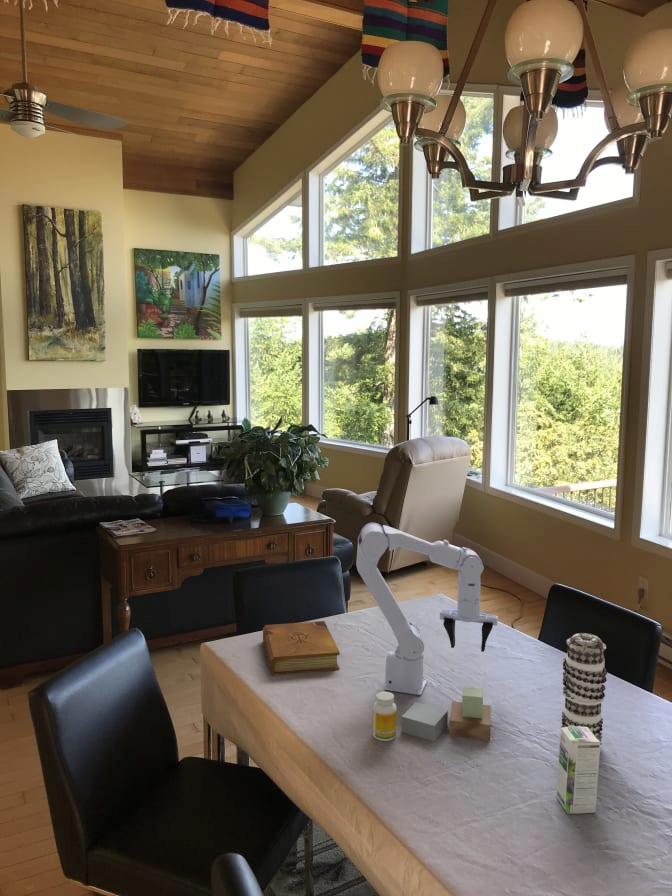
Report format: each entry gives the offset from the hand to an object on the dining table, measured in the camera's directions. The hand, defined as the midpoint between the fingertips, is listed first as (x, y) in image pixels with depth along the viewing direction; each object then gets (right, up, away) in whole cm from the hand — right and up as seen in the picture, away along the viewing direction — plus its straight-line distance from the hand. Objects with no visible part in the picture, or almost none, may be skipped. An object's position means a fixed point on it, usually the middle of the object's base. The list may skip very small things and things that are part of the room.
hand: (467, 648), depth 181 cm
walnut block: (-3, -13, -19) cm, 23 cm away
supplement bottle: (-23, -14, -22) cm, 35 cm away
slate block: (-14, -13, -19) cm, 27 cm away
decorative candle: (+20, -14, -26) cm, 36 cm away
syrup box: (+12, -17, -47) cm, 51 cm away
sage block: (-3, -9, -19) cm, 22 cm away
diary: (-45, -8, +20) cm, 50 cm away
